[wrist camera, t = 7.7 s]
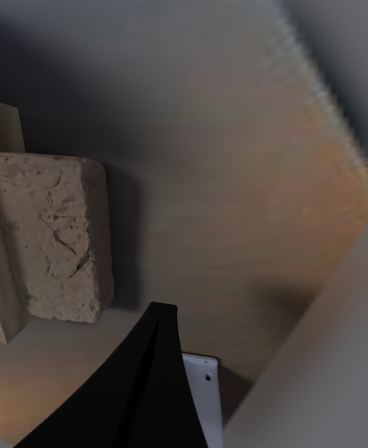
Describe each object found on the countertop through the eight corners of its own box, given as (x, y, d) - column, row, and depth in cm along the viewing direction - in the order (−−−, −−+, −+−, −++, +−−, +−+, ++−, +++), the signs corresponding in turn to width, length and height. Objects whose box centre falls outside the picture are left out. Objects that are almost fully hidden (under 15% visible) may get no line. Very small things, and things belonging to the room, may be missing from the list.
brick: (118, 298, 22) (97, 332, 17) (54, 291, 22) (18, 321, 18) (110, 159, 17) (79, 155, 12) (29, 153, 17) (-31, 147, 13)
